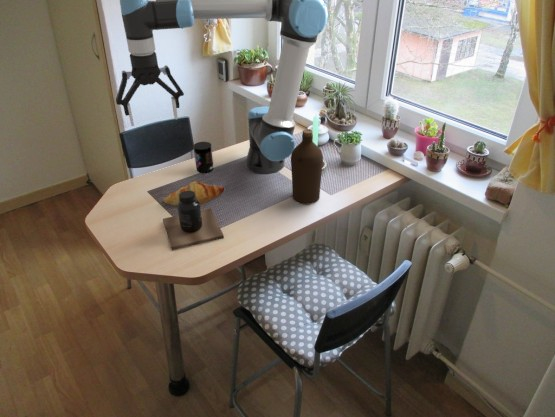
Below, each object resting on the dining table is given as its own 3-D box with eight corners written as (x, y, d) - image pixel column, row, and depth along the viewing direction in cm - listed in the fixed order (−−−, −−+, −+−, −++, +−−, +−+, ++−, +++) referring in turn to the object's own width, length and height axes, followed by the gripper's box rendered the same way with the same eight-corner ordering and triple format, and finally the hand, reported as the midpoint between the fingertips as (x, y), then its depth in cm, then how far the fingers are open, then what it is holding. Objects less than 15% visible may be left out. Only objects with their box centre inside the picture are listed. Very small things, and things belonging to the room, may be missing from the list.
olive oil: (322, 205, 155) (326, 137, 141) (291, 206, 155) (291, 138, 141) (319, 189, 164) (322, 123, 150) (290, 189, 164) (290, 124, 150)
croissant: (167, 217, 157) (164, 206, 150) (161, 193, 161) (159, 180, 154) (227, 205, 162) (227, 193, 155) (220, 181, 166) (220, 169, 159)
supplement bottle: (207, 227, 144) (202, 194, 137) (188, 236, 140) (183, 203, 133) (194, 218, 148) (190, 186, 141) (176, 226, 144) (171, 194, 137)
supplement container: (201, 164, 181) (198, 140, 175) (216, 167, 179) (214, 142, 173) (193, 172, 175) (190, 148, 170) (209, 175, 174) (206, 150, 168)
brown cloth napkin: (211, 211, 153) (210, 208, 152) (223, 238, 141) (223, 235, 140) (162, 221, 148) (162, 218, 148) (171, 250, 136) (171, 247, 135)
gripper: (182, 44, 139) (191, 111, 151) (96, 54, 132) (112, 122, 144) (187, 50, 134) (196, 119, 145) (98, 60, 126) (114, 131, 138)
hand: (154, 121), depth 145 cm, fingers open, 13 cm apart
